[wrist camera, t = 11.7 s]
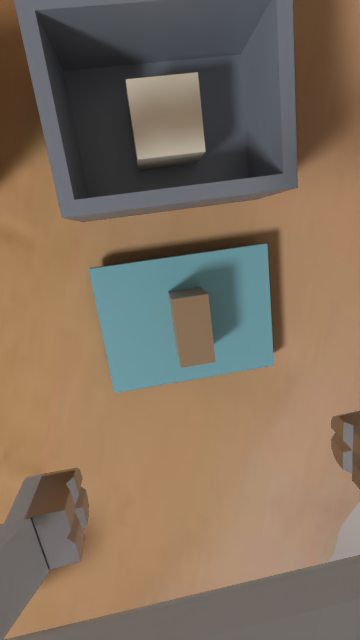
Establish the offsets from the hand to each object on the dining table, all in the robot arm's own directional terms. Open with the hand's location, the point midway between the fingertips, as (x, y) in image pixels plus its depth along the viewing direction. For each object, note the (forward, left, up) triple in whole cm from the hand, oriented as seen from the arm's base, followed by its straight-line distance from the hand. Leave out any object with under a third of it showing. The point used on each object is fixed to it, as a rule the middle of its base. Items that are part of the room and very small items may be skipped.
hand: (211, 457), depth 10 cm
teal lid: (+1, +2, -22) cm, 22 cm away
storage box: (-15, +2, -22) cm, 27 cm away
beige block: (-15, +2, -21) cm, 26 cm away
